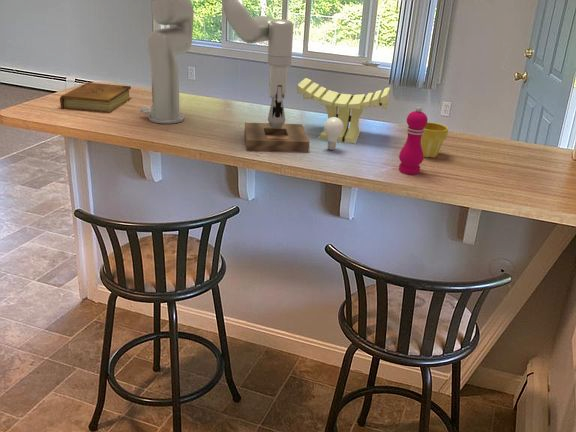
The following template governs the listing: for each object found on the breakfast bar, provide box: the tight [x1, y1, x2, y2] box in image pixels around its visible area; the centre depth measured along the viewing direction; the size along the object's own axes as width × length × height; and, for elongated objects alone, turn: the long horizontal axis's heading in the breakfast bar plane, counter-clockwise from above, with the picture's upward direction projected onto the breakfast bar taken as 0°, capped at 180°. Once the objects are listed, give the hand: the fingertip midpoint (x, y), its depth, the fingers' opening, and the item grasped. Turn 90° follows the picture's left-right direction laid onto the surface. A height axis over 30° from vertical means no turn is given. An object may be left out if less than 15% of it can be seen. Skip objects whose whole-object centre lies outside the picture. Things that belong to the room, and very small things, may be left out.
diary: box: [59, 82, 132, 114], centre depth 222 cm, size 23×19×6 cm
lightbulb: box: [323, 117, 343, 151], centre depth 187 cm, size 6×6×11 cm
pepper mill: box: [398, 106, 429, 175], centre depth 171 cm, size 7×7×20 cm
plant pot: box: [421, 121, 449, 158], centre depth 189 cm, size 10×10×10 cm
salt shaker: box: [267, 96, 286, 128], centre depth 188 cm, size 6×6×13 cm
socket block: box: [244, 122, 310, 153], centre depth 192 cm, size 20×20×4 cm
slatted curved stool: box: [296, 77, 391, 144], centre depth 201 cm, size 30×16×18 cm, turn 76°
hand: (276, 117), depth 190 cm, fingers closed on salt shaker, 3 cm apart
